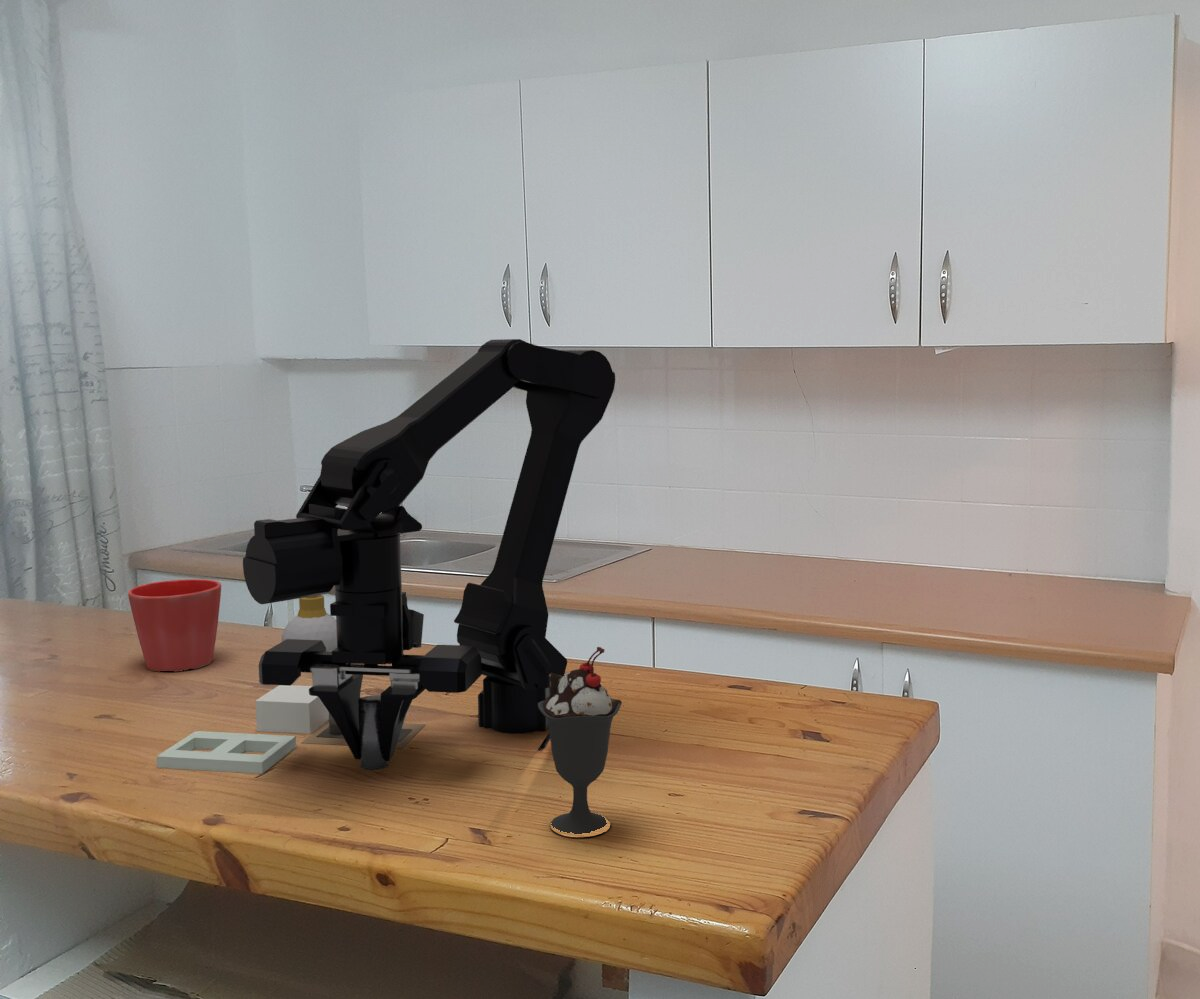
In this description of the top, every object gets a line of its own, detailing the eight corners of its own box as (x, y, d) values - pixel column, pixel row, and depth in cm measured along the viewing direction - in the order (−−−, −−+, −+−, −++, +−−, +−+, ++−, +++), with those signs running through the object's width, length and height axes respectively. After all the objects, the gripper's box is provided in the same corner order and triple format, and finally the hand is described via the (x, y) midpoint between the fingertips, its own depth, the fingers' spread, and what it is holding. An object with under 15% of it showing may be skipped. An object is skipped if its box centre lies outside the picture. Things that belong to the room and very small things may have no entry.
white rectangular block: (332, 730, 118) (331, 686, 117) (310, 748, 113) (308, 703, 112) (281, 727, 119) (279, 684, 118) (257, 745, 114) (255, 700, 113)
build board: (296, 761, 109) (295, 736, 109) (263, 789, 102) (261, 762, 102) (197, 756, 111) (196, 731, 110) (157, 783, 104) (156, 756, 103)
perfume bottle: (268, 673, 139) (264, 574, 137) (323, 654, 148) (319, 561, 146) (317, 681, 136) (313, 580, 134) (370, 661, 144) (367, 565, 143)
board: (426, 739, 115) (425, 704, 115) (402, 763, 108) (401, 727, 108) (330, 734, 117) (329, 700, 116) (301, 758, 110) (299, 722, 109)
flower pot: (113, 667, 142) (108, 589, 141) (190, 648, 151) (186, 574, 150) (166, 681, 136) (162, 599, 135) (243, 660, 145) (239, 583, 144)
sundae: (626, 841, 91) (626, 654, 89) (540, 844, 90) (538, 656, 88) (618, 808, 97) (617, 633, 95) (538, 811, 97) (535, 635, 95)
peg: (392, 771, 105) (389, 696, 104) (382, 781, 102) (380, 704, 102) (366, 770, 105) (364, 695, 104) (356, 779, 103) (354, 703, 102)
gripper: (495, 572, 108) (498, 734, 110) (305, 567, 111) (311, 725, 113) (461, 597, 97) (465, 777, 99) (252, 591, 100) (260, 765, 102)
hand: (374, 758), depth 104 cm, fingers closed on peg, 2 cm apart
